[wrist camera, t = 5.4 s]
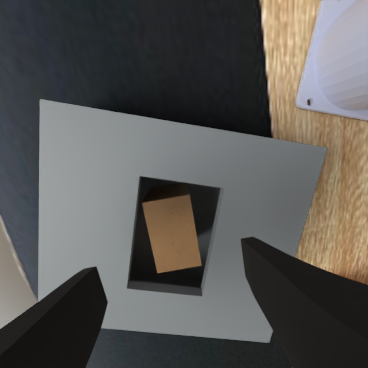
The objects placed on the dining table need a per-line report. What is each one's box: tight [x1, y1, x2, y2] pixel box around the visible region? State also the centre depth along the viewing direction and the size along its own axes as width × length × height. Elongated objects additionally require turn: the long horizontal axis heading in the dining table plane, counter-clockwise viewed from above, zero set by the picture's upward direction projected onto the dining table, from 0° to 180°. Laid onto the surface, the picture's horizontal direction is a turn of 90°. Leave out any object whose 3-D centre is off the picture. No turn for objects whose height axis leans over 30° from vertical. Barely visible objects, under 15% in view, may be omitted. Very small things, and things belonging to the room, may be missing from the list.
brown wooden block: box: [142, 182, 202, 273], centre depth 15 cm, size 3×5×4 cm, turn 9°
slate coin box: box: [38, 99, 328, 343], centre depth 15 cm, size 16×14×5 cm
